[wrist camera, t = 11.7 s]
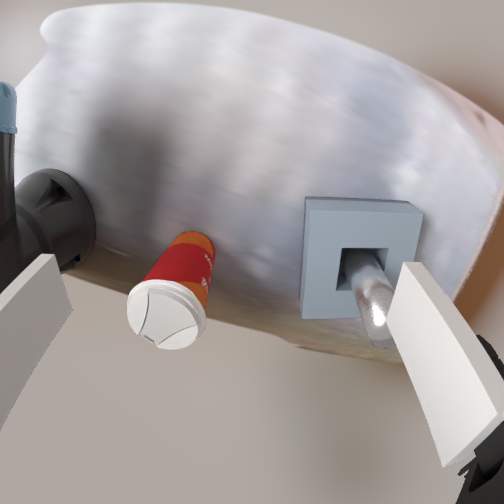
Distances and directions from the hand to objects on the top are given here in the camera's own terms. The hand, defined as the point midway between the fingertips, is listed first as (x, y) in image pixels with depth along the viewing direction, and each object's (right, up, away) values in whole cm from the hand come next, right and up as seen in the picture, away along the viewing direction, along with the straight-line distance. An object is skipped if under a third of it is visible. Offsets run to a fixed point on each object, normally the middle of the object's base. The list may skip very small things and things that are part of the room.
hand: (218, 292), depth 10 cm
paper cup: (-6, +2, +28) cm, 28 cm away
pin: (+14, +1, +26) cm, 29 cm away
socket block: (+14, +1, +27) cm, 30 cm away
